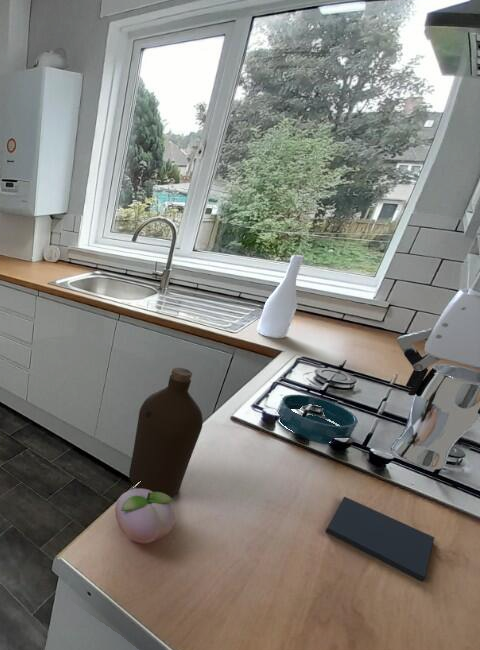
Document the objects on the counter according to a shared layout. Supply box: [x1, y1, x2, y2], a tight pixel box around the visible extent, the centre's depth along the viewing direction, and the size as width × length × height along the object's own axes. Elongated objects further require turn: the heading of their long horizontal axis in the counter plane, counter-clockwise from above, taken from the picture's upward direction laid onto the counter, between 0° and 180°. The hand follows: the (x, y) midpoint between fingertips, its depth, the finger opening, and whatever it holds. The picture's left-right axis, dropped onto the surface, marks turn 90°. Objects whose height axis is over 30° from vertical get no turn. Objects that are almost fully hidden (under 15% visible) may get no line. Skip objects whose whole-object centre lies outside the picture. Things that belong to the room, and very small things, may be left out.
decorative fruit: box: [114, 488, 176, 544], centre depth 68 cm, size 9×8×10 cm
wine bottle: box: [256, 254, 305, 339], centre depth 150 cm, size 10×10×30 cm
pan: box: [276, 394, 359, 445], centre depth 99 cm, size 14×14×5 cm
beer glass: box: [390, 363, 480, 470], centre depth 62 cm, size 7×7×15 cm
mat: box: [324, 496, 435, 582], centre depth 70 cm, size 12×12×1 cm
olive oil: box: [128, 367, 204, 498], centre depth 77 cm, size 11×11×25 cm
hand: (448, 402), depth 61 cm, fingers closed on beer glass, 7 cm apart
